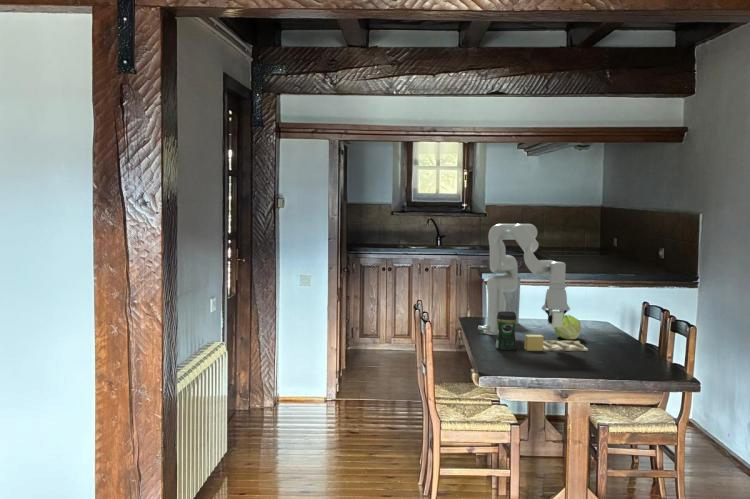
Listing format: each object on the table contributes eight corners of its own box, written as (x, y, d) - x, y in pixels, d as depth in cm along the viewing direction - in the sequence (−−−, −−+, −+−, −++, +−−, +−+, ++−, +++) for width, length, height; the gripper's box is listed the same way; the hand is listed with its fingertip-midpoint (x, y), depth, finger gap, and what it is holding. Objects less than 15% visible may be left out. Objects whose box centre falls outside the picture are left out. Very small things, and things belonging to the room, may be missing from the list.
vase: (519, 324, 446) (521, 278, 443) (502, 324, 446) (504, 278, 444) (516, 321, 456) (518, 276, 453) (500, 321, 456) (502, 276, 454)
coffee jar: (513, 347, 378) (515, 310, 377) (516, 350, 371) (518, 313, 369) (494, 346, 379) (495, 309, 377) (496, 350, 371) (498, 312, 369)
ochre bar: (527, 350, 372) (527, 336, 372) (524, 348, 377) (524, 334, 376) (542, 350, 373) (543, 336, 373) (539, 348, 378) (540, 334, 377)
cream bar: (548, 324, 383) (548, 310, 382) (556, 324, 383) (557, 310, 383) (553, 327, 375) (554, 312, 374) (562, 327, 375) (563, 313, 375)
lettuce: (557, 332, 393) (580, 318, 392) (547, 319, 415) (570, 307, 414) (568, 352, 396) (592, 339, 394) (559, 339, 417) (581, 327, 416)
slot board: (544, 350, 374) (545, 345, 374) (536, 345, 386) (537, 340, 385) (587, 350, 376) (588, 345, 376) (578, 345, 388) (579, 340, 388)
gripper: (570, 286, 382) (568, 322, 383) (537, 285, 380) (536, 321, 382) (576, 287, 375) (574, 324, 376) (542, 287, 373) (541, 324, 374)
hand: (555, 322), depth 379 cm, fingers closed on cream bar, 4 cm apart
